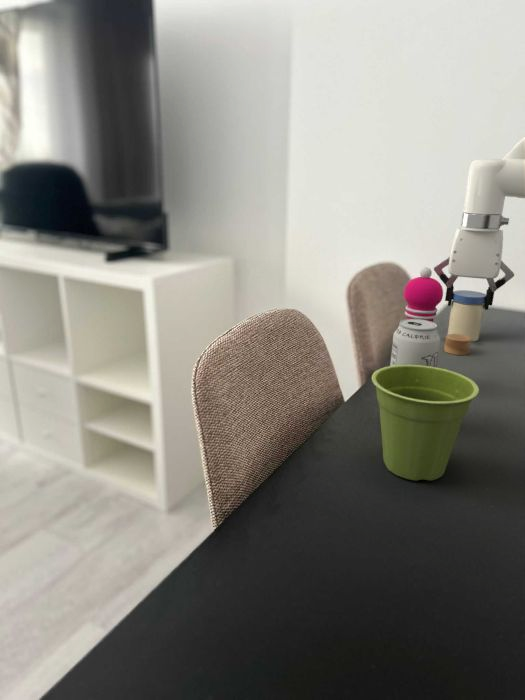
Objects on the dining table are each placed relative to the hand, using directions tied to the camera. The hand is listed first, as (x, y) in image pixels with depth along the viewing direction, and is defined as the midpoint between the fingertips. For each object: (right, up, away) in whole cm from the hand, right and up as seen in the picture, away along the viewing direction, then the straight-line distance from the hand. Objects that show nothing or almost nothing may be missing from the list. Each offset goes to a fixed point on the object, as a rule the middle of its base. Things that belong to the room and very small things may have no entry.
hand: (467, 305), depth 112 cm
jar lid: (0, +2, -1) cm, 2 cm away
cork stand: (-5, -10, -7) cm, 13 cm away
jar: (0, -7, +2) cm, 7 cm away
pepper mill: (-19, -16, -24) cm, 35 cm away
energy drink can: (-24, -20, -38) cm, 50 cm away
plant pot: (-26, -24, -49) cm, 60 cm away
